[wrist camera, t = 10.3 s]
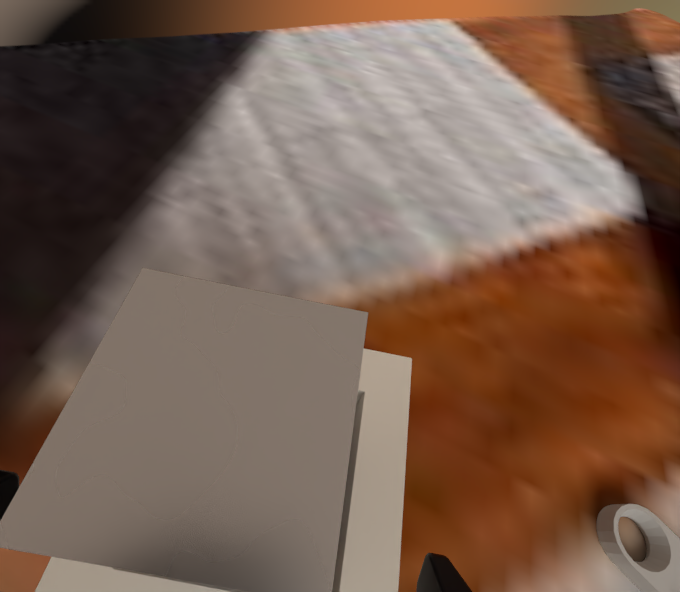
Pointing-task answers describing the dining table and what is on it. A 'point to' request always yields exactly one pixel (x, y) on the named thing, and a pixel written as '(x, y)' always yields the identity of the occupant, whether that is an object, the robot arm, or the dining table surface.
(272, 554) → the steel peg
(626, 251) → the dining table surface
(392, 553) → the socket block
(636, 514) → the adjustable wrench
